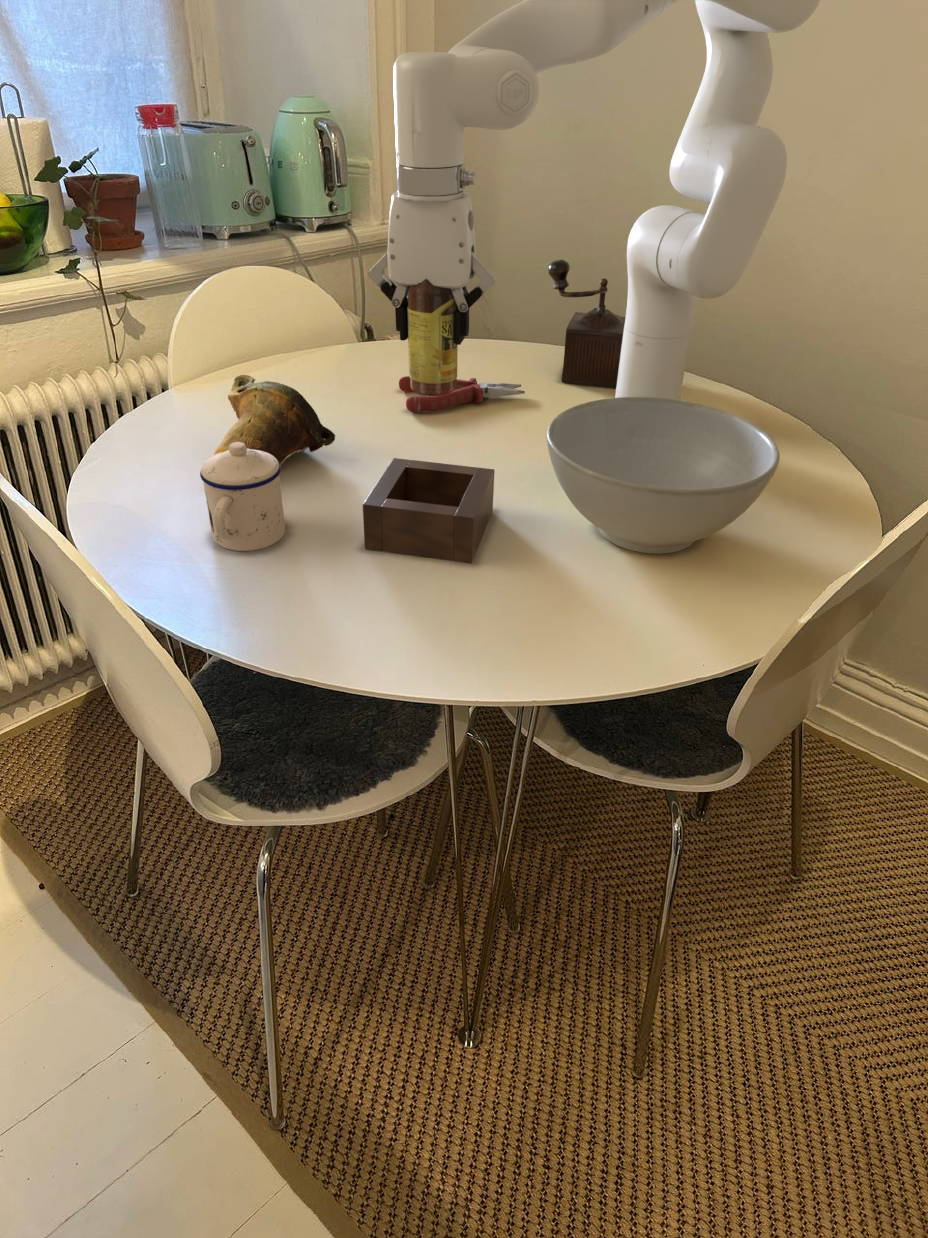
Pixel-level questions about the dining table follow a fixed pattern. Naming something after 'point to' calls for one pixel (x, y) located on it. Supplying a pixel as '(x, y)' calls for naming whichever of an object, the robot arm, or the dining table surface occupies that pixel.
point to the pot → (273, 420)
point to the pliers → (457, 394)
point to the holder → (429, 510)
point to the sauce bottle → (431, 339)
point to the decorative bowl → (659, 468)
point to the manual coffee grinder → (589, 337)
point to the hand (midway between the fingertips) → (432, 337)
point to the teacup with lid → (244, 498)
